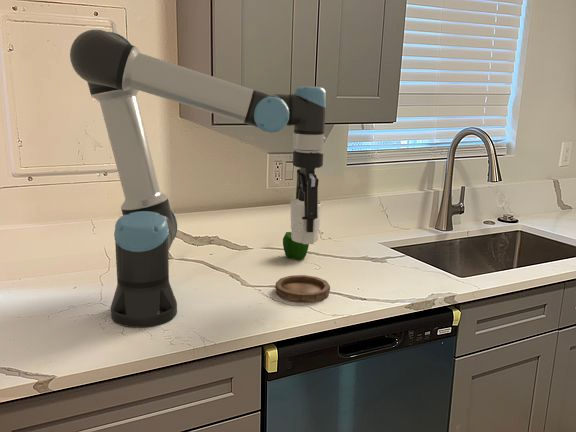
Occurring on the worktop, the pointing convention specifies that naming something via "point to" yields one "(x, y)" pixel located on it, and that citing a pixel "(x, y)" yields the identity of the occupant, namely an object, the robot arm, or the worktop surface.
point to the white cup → (297, 221)
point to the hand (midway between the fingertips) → (304, 238)
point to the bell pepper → (294, 248)
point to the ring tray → (302, 289)
